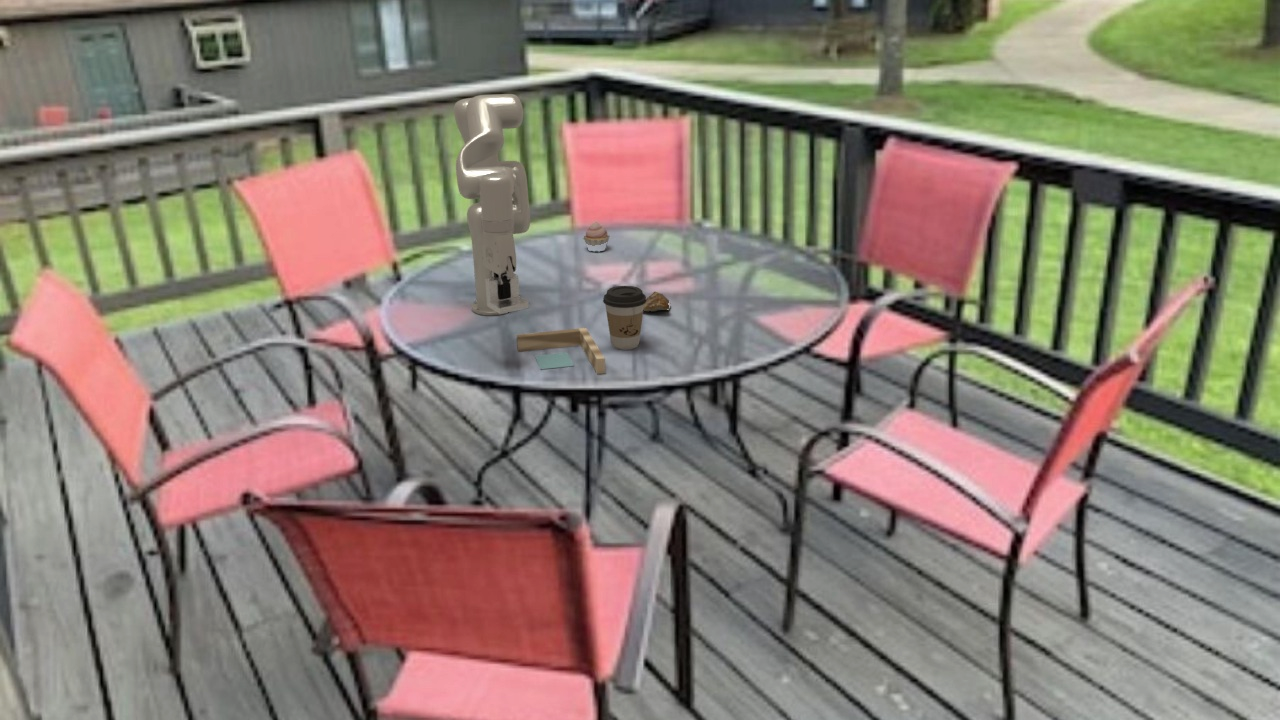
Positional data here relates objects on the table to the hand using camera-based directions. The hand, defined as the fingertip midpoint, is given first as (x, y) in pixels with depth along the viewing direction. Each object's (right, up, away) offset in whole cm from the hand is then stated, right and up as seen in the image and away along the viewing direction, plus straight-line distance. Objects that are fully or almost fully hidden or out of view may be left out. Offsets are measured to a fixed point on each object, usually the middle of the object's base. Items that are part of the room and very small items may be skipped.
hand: (502, 296), depth 247 cm
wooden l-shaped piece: (+14, -16, +6) cm, 22 cm away
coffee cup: (+30, -12, +16) cm, 36 cm away
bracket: (+2, -3, -1) cm, 3 cm away
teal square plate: (+12, -16, +6) cm, 21 cm away
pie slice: (+39, -1, +42) cm, 57 cm away
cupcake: (+19, +22, +98) cm, 102 cm away
